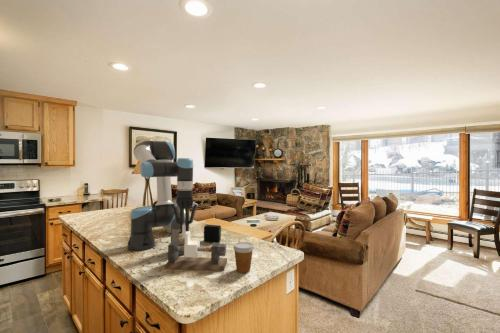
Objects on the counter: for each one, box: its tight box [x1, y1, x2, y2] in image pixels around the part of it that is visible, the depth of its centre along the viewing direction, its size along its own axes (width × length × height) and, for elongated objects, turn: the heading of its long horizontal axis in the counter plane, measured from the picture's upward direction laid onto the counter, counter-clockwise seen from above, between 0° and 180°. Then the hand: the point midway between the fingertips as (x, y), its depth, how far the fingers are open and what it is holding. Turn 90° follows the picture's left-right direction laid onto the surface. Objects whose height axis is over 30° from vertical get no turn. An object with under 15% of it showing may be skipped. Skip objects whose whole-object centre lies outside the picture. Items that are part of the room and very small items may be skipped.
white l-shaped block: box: [183, 230, 201, 258], centre depth 121 cm, size 6×6×11 cm
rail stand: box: [165, 241, 228, 272], centre depth 121 cm, size 28×10×10 cm, turn 87°
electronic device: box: [203, 224, 222, 244], centre depth 158 cm, size 4×10×10 cm, turn 78°
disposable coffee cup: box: [233, 241, 254, 274], centre depth 116 cm, size 10×10×12 cm
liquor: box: [170, 204, 190, 256], centre depth 138 cm, size 9×9×30 cm
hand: (184, 237), depth 121 cm, fingers closed
